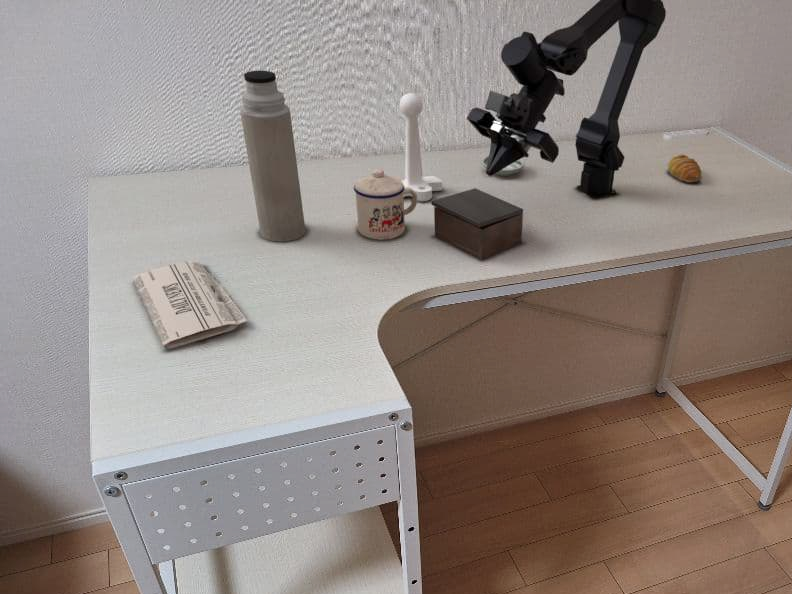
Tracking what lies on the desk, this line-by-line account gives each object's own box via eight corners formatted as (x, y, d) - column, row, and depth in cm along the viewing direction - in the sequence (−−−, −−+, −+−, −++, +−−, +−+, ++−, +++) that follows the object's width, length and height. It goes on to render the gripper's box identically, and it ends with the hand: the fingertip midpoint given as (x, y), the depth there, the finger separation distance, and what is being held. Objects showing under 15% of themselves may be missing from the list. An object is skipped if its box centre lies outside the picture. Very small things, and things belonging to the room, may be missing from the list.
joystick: (432, 184, 164) (430, 87, 152) (450, 196, 160) (449, 97, 148) (385, 193, 159) (379, 93, 147) (402, 207, 154) (398, 105, 142)
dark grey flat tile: (479, 227, 134) (479, 223, 134) (431, 204, 140) (431, 200, 140) (523, 213, 141) (523, 209, 141) (475, 192, 148) (475, 188, 147)
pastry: (707, 183, 175) (710, 167, 173) (681, 185, 173) (684, 169, 171) (689, 168, 182) (692, 152, 180) (663, 170, 180) (666, 154, 178)
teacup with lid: (369, 244, 140) (364, 183, 133) (349, 225, 146) (344, 165, 139) (428, 232, 146) (426, 173, 139) (407, 214, 152) (405, 156, 145)
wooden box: (481, 260, 138) (482, 229, 135) (434, 236, 145) (434, 206, 141) (521, 243, 145) (523, 213, 141) (474, 221, 151) (475, 192, 148)
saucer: (472, 172, 171) (472, 162, 170) (497, 160, 178) (497, 150, 176) (508, 183, 167) (509, 173, 166) (532, 171, 174) (533, 160, 173)
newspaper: (251, 329, 116) (247, 316, 114) (168, 357, 111) (162, 343, 109) (211, 264, 130) (206, 251, 129) (135, 286, 125) (130, 273, 124)
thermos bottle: (277, 219, 146) (253, 63, 129) (313, 228, 144) (294, 71, 127) (251, 236, 140) (223, 75, 123) (289, 245, 138) (266, 83, 121)
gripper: (474, 60, 137) (429, 135, 136) (553, 85, 127) (504, 166, 127) (503, 98, 146) (461, 168, 146) (578, 124, 137) (533, 199, 137)
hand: (488, 174), depth 139 cm, fingers closed
